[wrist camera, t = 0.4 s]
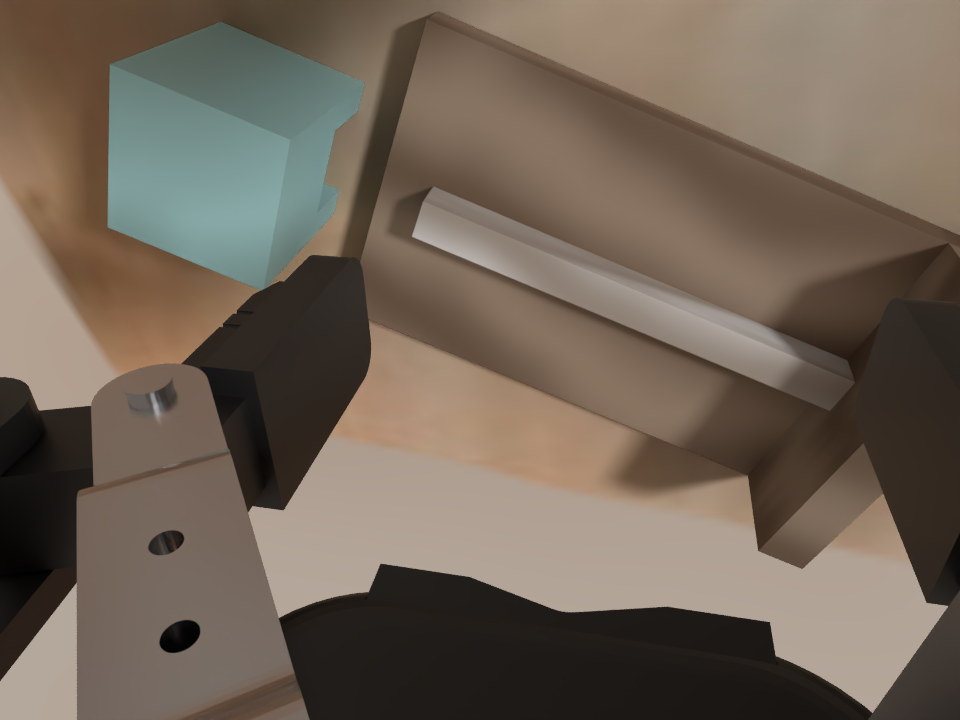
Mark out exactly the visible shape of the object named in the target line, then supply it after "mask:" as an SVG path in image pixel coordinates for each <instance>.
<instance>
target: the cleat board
mask: <svg viewBox="0 0 960 720" xmlns="http://www.w3.org/2000/svg"><path fill="white" fill-rule="evenodd" d="M360 264H361V266H362V270H363V276H364V285H365V294H366V303H367V312H368V319H369V320H372V321H374V322H377V323H379V324H382V325H384V326H386V327H389V328H391V329H394V330H396V331H399V332H401V333H403V334H406V335H408V336H411V337H413V338H416V339H418V340H420V341H423V342H425V343H428V344H430V345H433V346H435V347H437V348H440V349H442V350H445V351H447V352H450V353H452V354H454V355H457V356H459V357H462V358H464V359H467V360H469V361H471V362H474V363H476V364H479V365H481V366H484V367H486V368H488V369H491V370H493V371H496V372H498V373H501V374H503V375H505V376H508V377H510V378H513V379H515V380H518V381H520V382H522V383H525V384H527V385H530V386H532V387H535V388H537V389H539V390H542V391H544V392H547V393H549V394H552V395H554V396H556V397H559V398H561V399H564V400H566V401H569V402H571V403H573V404H576V405H578V406H581V407H583V408H586V409H588V410H590V411H593V412H595V413H598V414H600V415H603V416H605V417H607V418H610V419H612V420H615V421H617V422H620V423H622V424H624V425H627V426H629V427H632V428H634V429H637V430H639V431H641V432H644V433H646V434H649V435H651V436H654V437H656V438H658V439H661V440H663V441H666V442H668V443H671V444H673V445H675V446H678V447H680V448H683V449H685V450H688V451H690V452H692V453H695V454H697V455H700V456H702V457H705V458H707V459H709V460H712V461H714V462H717V463H719V464H722V465H724V466H726V467H729V468H731V469H734V470H736V471H739V472H741V473H743V474H746V475H748V479H749V487H750V494H751V501H752V508H753V516H754V523H755V530H756V538H757V544H758V551H760V552H762V553H765V554H767V555H769V556H772V557H774V558H777V559H779V560H782V561H784V562H787V563H789V564H791V565H794V566H796V567H799V568H801V569H802V568H804V567H805V566H806V565H807V564H808V563H809V562H810V561H811V560H812V559H813V558H814V557H816V556H817V555H818V554H819V553H820V552H821V551H822V550H823V549H824V548H825V547H826V546H827V545H828V544H829V543H830V542H832V541H833V540H834V539H835V538H836V537H837V536H838V535H839V534H840V533H841V532H842V531H843V530H844V529H845V528H846V527H848V526H849V525H850V524H851V523H852V522H853V521H854V520H855V519H856V518H857V517H858V516H859V515H860V514H861V513H863V512H864V511H865V510H866V509H867V508H868V507H869V506H870V505H871V504H872V503H873V502H874V501H875V500H876V499H877V498H879V497H880V496H881V495H882V494H883V491H882V489H881V486H880V484H879V481H878V478H877V476H876V473H875V471H874V468H873V466H872V463H871V461H870V458H869V456H868V453H867V451H866V448H865V446H864V443H863V441H862V438H861V436H860V433H859V430H858V426H857V420H856V404H857V396H858V392H859V388H860V385H861V381H862V378H863V375H864V372H865V369H866V366H867V363H868V360H869V356H870V353H871V350H872V347H873V344H874V341H875V338H876V335H877V332H878V328H879V325H880V322H881V319H882V316H883V313H884V311H885V309H886V307H887V305H888V304H889V302H890V301H891V300H892V299H894V298H905V299H919V300H933V301H947V302H954V303H956V304H957V305H958V306H959V307H960V236H959V235H957V234H955V233H952V232H950V231H948V230H945V229H943V228H941V227H938V226H936V225H934V224H931V223H929V222H927V221H924V220H922V219H920V218H917V217H915V216H913V215H910V214H908V213H906V212H904V211H901V210H899V209H897V208H894V207H892V206H890V205H887V204H885V203H883V202H880V201H878V200H876V199H873V198H871V197H869V196H866V195H864V194H862V193H859V192H857V191H855V190H852V189H850V188H848V187H845V186H843V185H841V184H838V183H836V182H834V181H831V180H829V179H827V178H824V177H822V176H820V175H817V174H815V173H813V172H810V171H808V170H806V169H803V168H801V167H799V166H796V165H794V164H792V163H789V162H787V161H785V160H782V159H780V158H778V157H775V156H773V155H771V154H768V153H766V152H764V151H761V150H759V149H757V148H754V147H752V146H750V145H747V144H745V143H743V142H740V141H738V140H736V139H733V138H731V137H729V136H726V135H724V134H722V133H719V132H717V131H715V130H712V129H710V128H708V127H705V126H703V125H701V124H698V123H696V122H694V121H692V120H689V119H687V118H685V117H682V116H680V115H678V114H675V113H673V112H671V111H668V110H666V109H664V108H661V107H659V106H657V105H654V104H652V103H650V102H647V101H645V100H643V99H640V98H638V97H636V96H633V95H631V94H629V93H626V92H624V91H622V90H619V89H617V88H615V87H612V86H610V85H608V84H605V83H603V82H601V81H598V80H596V79H594V78H591V77H589V76H587V75H584V74H582V73H580V72H577V71H575V70H573V69H570V68H568V67H566V66H563V65H561V64H559V63H556V62H554V61H552V60H549V59H547V58H545V57H542V56H540V55H538V54H535V53H533V52H531V51H528V50H526V49H524V48H521V47H519V46H517V45H514V44H512V43H510V42H507V41H505V40H503V39H500V38H498V37H496V36H493V35H491V34H489V33H486V32H484V31H482V30H480V29H477V28H475V27H473V26H470V25H468V24H466V23H463V22H461V21H459V20H456V19H454V18H452V17H449V16H447V15H445V14H442V13H440V12H436V13H435V14H433V15H432V16H430V17H429V18H428V19H427V20H426V23H425V27H424V31H423V34H422V38H421V42H420V45H419V49H418V53H417V56H416V60H415V63H414V67H413V71H412V74H411V78H410V82H409V85H408V89H407V93H406V96H405V100H404V104H403V107H402V111H401V115H400V118H399V122H398V125H397V129H396V133H395V136H394V140H393V144H392V147H391V151H390V155H389V158H388V162H387V166H386V169H385V173H384V177H383V180H382V184H381V188H380V191H379V195H378V198H377V202H376V206H375V209H374V213H373V217H372V220H371V224H370V228H369V231H368V235H367V239H366V242H365V246H364V250H363V253H362V257H361V260H360Z"/></svg>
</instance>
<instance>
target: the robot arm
mask: <svg viewBox="0 0 960 720" xmlns="http://www.w3.org/2000/svg"><path fill="white" fill-rule="evenodd" d="M370 356H371V339H370V330H369V321H368V312H367V303H366V294H365V285H364V276H363V270H362V266H361V264H360V262H359V260H358V259H356V258H348V257H334V256H320V255H311V256H309V257H308V258H307V259H306V260H305V261H304V262H303V263H302V264H301V265H300V266H299V267H298V268H297V269H296V270H295V271H294V272H293V273H292V274H291V275H290V276H289V277H288V278H287V279H286V280H285V281H284V282H282V281H279V282H277V283H275V284H273V285H271V286H269V287H267V288H265V289H263V290H261V291H259V292H257V293H255V294H253V295H252V296H251V297H250V298H249V299H248V300H247V301H246V302H245V303H244V304H243V305H242V306H241V307H240V308H239V309H238V310H237V314H232V315H231V316H230V317H229V318H228V319H227V320H226V321H225V322H224V323H223V327H219V328H218V329H217V330H216V331H215V332H214V333H213V334H212V335H211V336H210V337H209V338H208V339H207V340H205V341H204V342H203V343H202V344H201V345H200V346H199V347H198V348H197V349H196V350H195V351H194V352H193V353H192V354H191V355H190V356H189V357H188V358H187V359H186V360H185V361H184V362H183V363H182V364H159V365H152V366H147V367H143V368H140V369H136V370H133V371H131V372H128V373H126V374H123V375H121V376H119V377H117V378H115V379H114V380H112V381H110V382H109V383H108V384H106V385H105V386H104V387H102V388H101V389H100V390H99V391H98V393H97V394H96V395H95V396H94V399H93V401H92V405H91V406H85V407H75V408H64V409H53V410H43V411H39V410H38V408H37V405H36V403H35V400H34V398H33V396H32V393H31V391H30V389H29V386H28V385H27V384H26V383H24V382H22V381H21V380H17V379H14V378H7V377H0V681H1V679H2V678H3V677H4V675H5V674H6V673H7V671H8V670H9V669H10V668H11V666H12V665H13V664H14V663H15V661H16V660H17V659H18V657H19V656H20V655H21V654H22V652H23V651H24V650H25V648H26V647H27V646H28V645H29V643H30V642H31V641H32V639H33V638H34V636H36V634H37V633H38V632H39V630H40V629H41V628H42V627H43V625H44V624H45V623H46V621H47V620H48V619H49V618H50V616H51V615H52V614H53V612H54V611H55V610H56V609H57V607H58V606H59V605H60V603H61V602H62V601H63V600H64V598H65V597H66V596H67V594H68V593H69V592H70V591H71V589H72V588H73V587H74V585H75V584H76V583H77V720H960V307H959V306H958V305H957V304H956V303H954V302H947V301H933V300H919V299H905V298H894V299H892V300H891V301H890V302H889V304H888V305H887V307H886V309H885V311H884V313H883V316H882V319H881V322H880V325H879V328H878V332H877V335H876V338H875V341H874V344H873V347H872V350H871V353H870V356H869V360H868V363H867V366H866V369H865V372H864V375H863V378H862V381H861V385H860V388H859V392H858V396H857V404H856V420H857V426H858V430H859V433H860V436H861V438H862V441H863V443H864V446H865V448H866V451H867V453H868V456H869V458H870V461H871V463H872V466H873V468H874V471H875V473H876V476H877V478H878V481H879V484H880V486H881V489H882V491H883V494H884V496H885V499H886V501H887V504H888V506H889V509H890V511H891V514H892V516H893V519H894V521H895V524H896V526H897V529H898V532H899V534H900V537H901V539H902V542H903V544H904V547H905V549H906V552H907V554H908V557H909V559H910V562H911V564H912V567H913V569H914V572H915V574H916V577H917V579H918V582H919V585H920V587H921V590H922V592H923V595H924V597H925V600H926V602H927V603H932V604H939V605H946V606H948V608H947V609H946V611H945V612H944V613H943V615H942V616H941V618H940V619H939V621H938V622H937V623H936V625H935V626H934V628H933V629H932V630H931V632H930V633H929V635H928V636H927V638H926V639H925V640H924V642H923V643H922V645H921V646H920V647H919V649H918V650H917V651H916V653H915V654H914V656H913V657H912V659H911V660H910V662H909V663H908V664H907V666H906V667H905V668H904V670H903V671H902V673H901V674H900V676H899V677H898V678H897V680H896V681H895V682H894V684H893V686H892V687H891V688H890V690H889V691H888V693H887V694H886V695H885V697H884V698H883V699H882V701H881V702H880V704H879V705H878V707H877V708H876V709H875V711H874V712H873V713H872V712H870V711H869V710H868V709H867V708H866V707H865V706H863V705H862V704H860V703H859V702H858V701H856V700H855V699H853V698H852V697H851V696H849V695H848V694H846V693H845V692H843V691H842V690H841V689H839V688H838V687H836V686H834V685H833V684H831V683H829V682H828V681H826V680H824V679H822V678H821V677H819V676H817V675H815V674H814V673H811V672H810V671H808V670H806V669H804V668H801V667H799V666H797V665H795V664H793V663H791V662H789V661H786V660H784V659H781V658H779V657H776V656H775V650H774V644H773V639H772V633H771V626H770V622H764V621H758V620H751V619H745V618H737V617H731V616H724V615H718V614H711V613H705V612H698V611H692V610H685V609H678V608H671V607H657V608H641V609H626V610H625V609H624V610H607V611H592V612H572V613H571V612H561V611H557V610H554V609H551V608H548V607H546V606H543V605H541V604H538V603H536V602H533V601H530V600H527V599H525V598H522V597H520V596H517V595H515V594H512V593H509V592H507V591H504V590H502V589H499V588H497V587H494V586H491V585H489V584H486V583H483V582H481V581H478V580H476V579H473V578H471V577H465V576H458V575H452V574H445V573H439V572H432V571H426V570H419V569H412V568H406V567H398V566H392V565H386V564H380V567H379V569H378V572H377V574H376V576H375V579H374V581H373V584H372V586H371V588H370V591H369V592H366V593H356V594H349V595H344V596H338V597H334V598H330V599H326V600H323V601H319V602H316V603H313V604H310V605H307V606H305V607H302V608H300V609H297V610H294V611H292V612H290V613H288V614H286V615H284V616H282V617H280V618H278V614H277V611H276V608H275V604H274V601H273V597H272V594H271V590H270V587H269V584H268V580H267V577H266V573H265V570H264V566H263V563H262V560H261V556H260V553H259V550H258V546H257V542H256V539H255V535H254V532H253V529H252V525H251V522H250V518H249V515H248V512H249V510H250V509H251V507H252V506H256V507H263V508H271V509H278V510H284V509H285V507H286V505H287V504H288V502H289V501H290V499H291V497H292V496H293V494H294V492H295V491H296V489H297V488H298V486H299V484H300V483H301V481H302V480H303V478H304V476H305V474H306V473H307V471H308V470H309V468H310V466H311V465H312V463H313V462H314V460H315V458H316V457H317V455H318V453H319V452H320V450H321V449H322V447H323V445H324V444H325V442H326V440H327V439H328V437H329V436H330V434H331V432H332V431H333V429H334V427H335V426H336V424H337V423H338V421H339V419H340V418H341V416H342V414H343V413H344V411H345V410H346V408H347V406H348V405H349V403H350V401H351V400H352V398H353V397H354V395H355V393H356V392H357V390H358V388H359V387H360V385H361V383H362V382H363V380H364V378H365V377H366V374H367V371H368V368H369V363H370Z"/></svg>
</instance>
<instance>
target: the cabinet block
mask: <svg viewBox="0 0 960 720" xmlns="http://www.w3.org/2000/svg"><path fill="white" fill-rule="evenodd" d="M364 83H365V82H362V81H360V80H357V79H355V78H353V77H350V76H348V75H346V74H343V73H341V72H339V71H336V70H334V69H331V68H329V67H327V66H324V65H322V64H320V63H317V62H315V61H313V60H310V59H308V58H306V57H303V56H301V55H298V54H296V53H294V52H291V51H289V50H287V49H284V48H282V47H280V46H277V45H275V44H272V43H270V42H268V41H265V40H263V39H261V38H258V37H256V36H254V35H251V34H249V33H247V32H244V31H242V30H239V29H237V28H235V27H232V26H230V25H228V24H225V23H223V22H219V23H216V24H214V25H211V26H208V27H206V28H203V29H200V30H198V31H195V32H193V33H190V34H187V35H185V36H182V37H180V38H177V39H174V40H172V41H169V42H167V43H164V44H161V45H159V46H156V47H154V48H151V49H148V50H146V51H143V52H140V53H138V54H135V55H133V56H130V57H127V58H125V59H122V60H120V61H117V62H114V63H112V64H110V83H109V159H108V228H110V229H113V230H115V231H118V232H120V233H123V234H125V235H127V236H130V237H132V238H135V239H137V240H140V241H142V242H144V243H147V244H149V245H152V246H154V247H157V248H159V249H161V250H164V251H166V252H169V253H171V254H174V255H176V256H179V257H181V258H183V259H186V260H188V261H191V262H193V263H196V264H198V265H200V266H203V267H205V268H208V269H210V270H213V271H215V272H217V273H220V274H222V275H225V276H227V277H230V278H232V279H235V280H237V281H239V282H242V283H244V284H247V285H249V286H252V287H254V288H256V289H259V290H263V289H265V288H267V287H268V286H269V284H270V283H271V282H272V281H273V280H274V279H275V278H276V277H277V276H278V275H279V273H280V272H281V271H282V270H283V269H284V268H285V267H286V266H287V265H288V264H289V262H290V261H291V260H292V259H293V258H294V257H295V256H296V255H297V254H298V253H299V251H300V250H301V249H302V248H303V247H304V246H305V245H306V244H307V243H308V242H309V240H310V239H311V238H312V237H313V236H314V235H315V234H316V233H317V232H318V231H319V229H320V228H321V227H322V226H323V225H324V224H325V223H326V222H327V221H328V220H329V218H330V217H331V216H332V215H333V214H334V211H335V207H336V202H337V198H338V194H339V189H336V188H334V187H331V186H329V185H327V184H324V179H325V175H326V170H327V166H328V161H329V157H330V152H331V147H332V143H333V138H334V134H335V130H337V129H338V128H339V127H340V126H341V125H343V124H344V123H345V122H346V121H347V120H348V119H350V118H351V117H352V116H353V115H354V114H355V113H357V112H358V109H359V105H360V100H361V96H362V92H363V88H364Z"/></svg>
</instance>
